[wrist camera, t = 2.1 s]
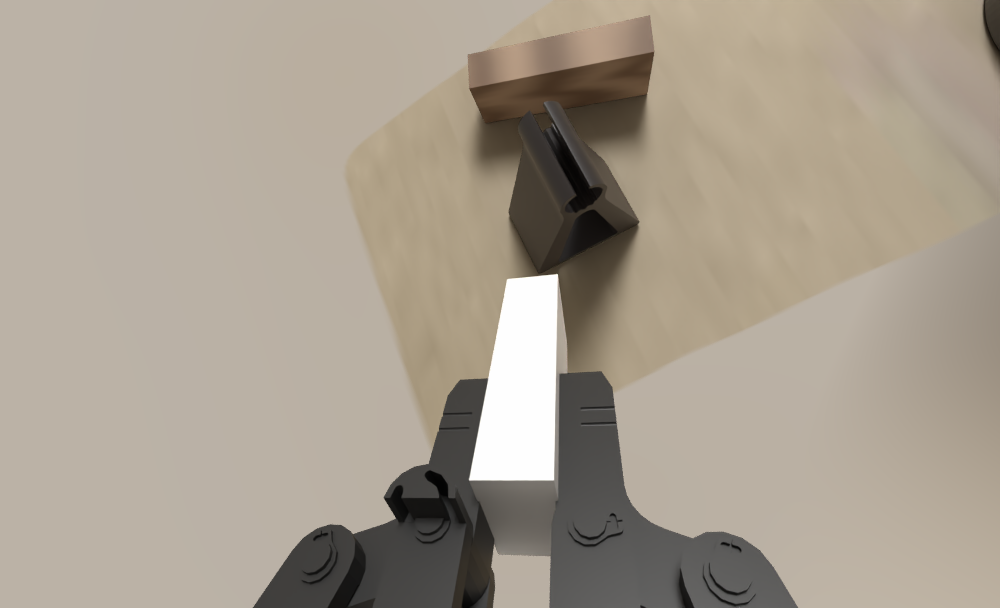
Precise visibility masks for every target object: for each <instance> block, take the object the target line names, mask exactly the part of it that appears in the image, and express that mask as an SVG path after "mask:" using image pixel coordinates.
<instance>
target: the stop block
mask: <svg viewBox="0 0 1000 608" xmlns="http://www.w3.org/2000/svg"><path fill="white" fill-rule="evenodd" d="M653 57H654V45H653V36H652V28H651V20H650V15H649V16H645V17H640V18H636V19H631V20H626V21H622V22H617V23H612V24H608V25H603V26H599V27H594V28H589V29H585V30H580V31H575V32H571V33H566V34H562V35H557V36H552V37H548V38H543V39H538V40H534V41H529V42H524V43H520V44H515V45H511V46H506V47H501V48H497V49H492V50H487V51H483V52H478V53H474V54H469V55H468V70H469V89H470V91H471V93H472V95H473V98H474V100H475V102H476V104H477V106H478V108H479V111H480V113H481V115H482V117H483V119H484V121H485V123H489V122H495V121H500V120H506V119H512V118H517V117H523V116H524V115H525V114H526V113H527V112H528V111H529V110H530V111H531V112H532V114H533V115H534V114H539V113H545V112H546V111H545V109H544V107H543V103H544V102H547V101H556V102H558V103H560V105H561V106H562V108H563V109H567V108H573V107H578V106H584V105H590V104H595V103H601V102H606V101H612V100H617V99H623V98H629V97H634V96H640V95H645V94H647V92H648V86H649V80H650V74H651V68H652V62H653Z"/></svg>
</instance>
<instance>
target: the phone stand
mask: <svg viewBox="0 0 1000 608" xmlns="http://www.w3.org/2000/svg"><path fill="white" fill-rule="evenodd" d="M543 107H544V109H545V111H546V112H547V114H548V116H549V118H550V120H551V121H552V125H551V128H548V129H545V131H544V133H543V132H542V131H541V129H540V127H539V125H538V123H537V121H536V120H535V118H534V116H533V114H532V112H531V111H530V110H529V111H528V112H527V113H526V114H525V115H524V116H523V118H522V119H521V121H520V123H519V125H518V133H519V135H520V137H521V139H522V141H523V150H522V155H521V159H520V164H519V168H518V172H517V177H516V181H515V186H514V190H513V195H512V199H511V204H510V208H509V215H510V217H511V219H512V221H513V223H514V225H515V227H516V229H517V231H518V233H519V235H520V237H521V239H522V241H523V243H524V245H525V247H526V249H527V251H528V253H529V255H530V257H531V259H532V261H533V263H534V265H535V267H536V269H537V271H538V273H542V272H544V271H546V270H548V269H550V268H552V267H554V266H556V265H558V264H560V263H562V262H564V261H566V260H568V259H570V258H572V257H574V256H576V255H578V254H580V253H582V252H584V251H586V250H587V249H588V248H592V247H594V246H596V245H598V244H600V243H602V242H603V241H605V240H607V239H609V238H611V237H613V236H615V235H617V234H619V233H621V232H623V231H625V230H627V229H629V228H631V227H633V226H635V225H637V224H638V223H639V220H638V218H637V217H636V215H635V213H634V211H633V210H632V208H631V206H630V204H629V203H628V201H627V199H626V197H625V196H624V194H623V192H622V191H621V189H620V187H619V185H618V184H617V182H616V180H615V178H614V177H613V175H612V173H611V171H610V170H609V168H608V166H607V164H606V163H605V161H604V160H603V159H602V158H601V157H599V156H598V155H597V154H596V153H595V152H594V151H593V150H592V149H591V148H590V147H589V146H587V145H586V144H585V143H584V142H583V141H582V140H581V139H580V138H579V136H578V134H577V133H576V131H575V129H574V127H573V126H572V124H571V122H570V120H569V119H568V117H567V115H566V113H565V111H564V110H563V108H562V106H561V105H560V103H558V102H556V101H547V102H544V103H543Z"/></svg>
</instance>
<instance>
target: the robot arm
mask: <svg viewBox="0 0 1000 608" xmlns="http://www.w3.org/2000/svg"><path fill="white" fill-rule="evenodd" d="M985 14H986V21H987V25H988V28H989V31H990V34H991V36H992V38H993V40H994V42H995V44H996V46H997V47H998V49H999V50H1000V0H986V1H985ZM384 499H385V501H386V502H387V504H388V505H389V507H390V509H391V511H392V512H393V514H394V515H395V517H396V519H394V520H392V521H390V522H388V523H386V524H383V525H380V526H377V527H374V528H371V529H368V530H364V531H361V532H358V533H355V534H352V533H351V531H349V530H348V529H346V528H345V527H343V526H342V525H327V526H324V527H321V528H318V529H316V530H314V531H313V532H311V533H310V534H308V535H307V536H306V537H304V538H303V539H302V540H301V541H300V542H299V544H298V545H297V546H296V547H295V548H294V549H293V550H292V552H291V553H290V555H289V556H288V558H287V559H286V560H285V562H284V563H283V565H282V566H281V568H280V569H279V571H278V572H277V573H276V575H275V576H274V578H273V579H272V581H271V582H270V584H269V585H268V587H267V588H266V589H265V591H264V593H263V594H262V595H261V597H260V598H259V600H258V601H257V603H256V604H255V606H254V607H253V608H493V600H494V591H495V580H494V573H493V570H492V568H491V564H492V555H493V548H494V545H495V547H496V550H497V552H498V554H501V555H529V556H531V555H532V556H551V568H550V608H798V607H797V605H796V604H795V602H794V600H793V599H792V597H791V595H790V594H789V592H788V590H787V589H786V587H785V585H784V584H783V582H782V581H781V579H780V577H779V576H778V574H777V572H776V571H775V569H774V567H773V566H772V565H771V564H770V562H769V561H768V560H767V559H766V558H765V556H764V555H763V554H762V553H761V551H760V550H758V549H757V548H756V547H754V546H753V545H751V544H750V543H748V542H747V541H745V540H744V539H743V538H740V537H737V536H734V535H731V534H728V533H725V532H705V533H703V534H701V535H699V536H697V537H695V538H690V537H687V536H684V535H681V534H678V533H675V532H672V531H669V530H666V529H664V528H662V527H659V526H657V525H655V524H653V523H651V522H650V521H648V520H647V519H646V518H644V517H643V516H641V515H640V514H639V512H638V511H637V510H636V509H635V508H634V507H633V506H632V504H631V502H630V500H629V498H628V496H627V494H626V490H625V486H624V480H623V471H622V463H621V455H620V447H619V439H618V430H617V423H616V414H615V406H614V398H613V390H612V386H611V385H610V383H609V382H608V380H607V379H606V378H605V376H604V375H603V373H602V372H582V373H567V339H566V332H565V324H564V317H563V309H562V302H561V294H560V287H559V279H558V274H555V275H545V276H535V277H524V278H514V279H507V284H506V290H505V295H504V300H503V305H502V310H501V316H500V321H499V326H498V331H497V337H496V342H495V347H494V352H493V358H492V363H491V368H490V373H489V378H488V379H468V380H460V381H459V382H458V383H457V385H456V386H455V387H454V388H453V390H452V391H451V392H450V394H449V395H448V397H447V401H446V404H445V408H444V412H443V417H442V419H441V422H440V426H439V432H438V433H437V436H436V440H435V443H434V447H433V451H432V454H431V458H430V461H429V464H426V465H421V466H416V467H414V468H411V469H410V470H408V471H406V472H404V473H402V474H401V475H400V476H399V477H398V478H397V479H396V480H395V481H394V482H393V483H392V484H391V485H390V487H389V489H388V491H387V492H386V494H385V496H384Z"/></svg>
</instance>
